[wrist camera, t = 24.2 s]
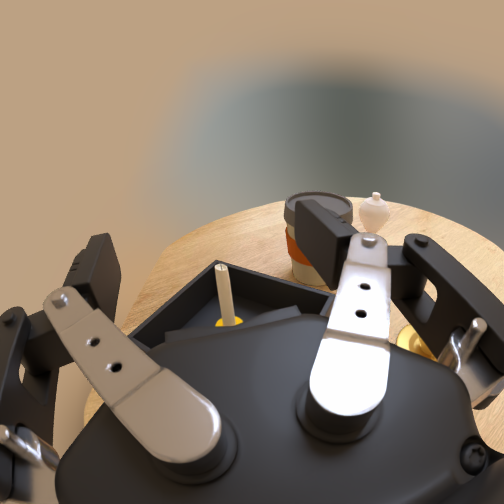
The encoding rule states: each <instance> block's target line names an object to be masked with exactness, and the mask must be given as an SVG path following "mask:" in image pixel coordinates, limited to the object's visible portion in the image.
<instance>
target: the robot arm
mask: <svg viewBox="0 0 504 504" xmlns="http://www.w3.org/2000/svg"><path fill="white" fill-rule="evenodd" d="M294 236H295V241H296V244H297V246H298V248H299V249H300V250H301V252H302V253H303V254H304V256H305V257H306V258H307V260H308V261H309V262H310V264H311V265H312V266H313V267H314V269H315V270H316V271H317V273H318V274H319V275H320V277H321V278H322V279H323V281H324V282H325V283H326V285H327V286H328V287H329V289H330V290H331V291H332V290H336V289H337V293H336V297H335V301H334V304H333V308H332V311H331V315H330V317H327V316H322V315H316V314H301V313H300V311H299V309H298V307H297V306H296V305H295V306H290V307H286V308H282V309H278V310H273V311H269V312H265V313H263V314H260V315H258V316H256V317H253V318H251V319H249V320H247V321H244V322H242V323H240V324H237V325H234V326H196V327H191V328H185V329H180V330H174V331H168V332H165V342H164V343H162V344H160V345H158V346H156V347H154V348H152V349H151V350H149V351H147V352H146V353H144V352H143V351H142V350H141V349H140V348H139V347H138V346H136V345H135V344H134V343H133V342H132V341H131V340H130V339H129V338H128V337H127V336H126V335H125V334H124V333H123V332H122V331H121V330H120V329H119V328H118V327H117V326H116V325H115V324H114V319H115V312H116V306H117V299H118V294H119V288H120V282H121V271H120V265H119V262H118V259H117V256H116V253H115V250H114V247H113V243H112V240H111V237H110V235H109V234H108V233H104V234H99V235H94V236H91V238H90V240H89V242H88V245H87V247H86V249H83V250H82V251H81V252H80V253H79V254H78V255H77V256H76V257H75V259H74V261H73V263H72V266H71V268H70V270H69V271H70V272H68V274H67V277H66V279H65V282H64V284H63V287H61V288H58V289H56V290H55V291H53V292H52V293H50V294H49V295H48V296H47V297H46V299H45V300H44V302H43V309H44V310H42V311H39V312H37V313H34V314H32V315H30V316H27V314H26V313H25V311H24V309H23V308H22V307H13V308H10V309H8V310H7V311H6V312H4V313H3V314H2V315H1V316H0V504H504V454H502V453H500V452H497V451H495V450H493V449H491V448H490V447H489V446H487V445H486V443H485V442H484V441H483V440H482V438H481V436H480V434H479V432H478V429H477V426H476V423H475V420H474V416H473V411H472V408H473V409H476V410H482V409H485V408H486V407H488V406H489V405H490V403H491V402H492V401H493V400H494V399H495V398H496V397H497V396H498V395H499V394H500V393H501V391H502V390H503V389H504V304H503V303H502V302H501V301H500V300H499V299H498V298H497V297H496V296H495V295H494V294H493V293H492V292H491V291H490V290H489V289H488V288H487V287H486V286H485V285H483V284H482V283H481V282H480V281H479V280H478V279H477V278H476V277H475V276H474V275H473V274H472V273H471V272H470V271H468V270H467V269H466V268H465V267H464V266H463V265H462V264H461V263H460V262H458V261H457V260H456V259H455V258H454V257H453V256H452V255H450V254H449V253H448V252H447V251H446V250H445V249H443V248H442V247H441V246H440V245H439V244H437V243H436V242H435V241H434V240H432V239H431V238H429V237H427V236H425V235H422V234H408V235H406V236H405V239H404V244H403V246H387V242H386V240H385V239H384V238H382V237H381V236H379V235H376V234H373V233H368V232H361V233H360V232H358V231H357V230H356V229H355V228H354V227H353V226H351V225H350V224H349V223H348V222H346V220H344V219H343V218H341V216H340V215H338V214H337V213H336V212H334V211H332V210H330V209H327V208H324V207H323V206H321V205H320V204H319V203H318V202H317V201H315V200H314V199H307V200H299V201H296V203H295V222H294ZM427 279H429V280H430V282H431V283H432V284H433V285H434V286H435V287H436V290H437V300H436V302H434V300H433V299H432V298H431V297H430V296H429V295H428V294H427V293H426V292H425V291H424V288H425V285H426V282H427ZM390 299H391V300H392V301H393V303H394V304H395V305H396V306H397V308H398V309H399V310H400V312H401V313H402V314H403V315H404V317H405V318H406V319H407V321H408V322H409V323H410V324H411V326H412V327H413V328H414V330H415V331H416V332H417V334H418V335H419V336H420V338H421V339H422V340H423V342H424V343H425V344H426V346H427V347H428V348H429V350H430V351H431V353H432V354H433V355H434V357H435V358H436V360H437V361H438V362H436V361H434V360H431V359H429V358H426V357H424V356H421V355H419V354H416V353H414V352H411V351H409V350H407V349H404V348H402V347H399V346H397V345H395V344H392V343H390V342H388V335H389V320H390ZM74 361H75V363H76V364H77V365H78V367H79V368H80V370H81V371H82V373H83V374H84V375H85V376H86V378H87V380H88V381H89V382H90V383H91V385H92V386H93V388H94V389H95V390H96V392H97V393H98V394H99V396H100V397H101V398H102V399H103V401H104V403H103V404H102V405H101V407H100V408H99V409H98V410H97V412H96V413H95V414H94V416H93V417H92V418H91V419H90V421H89V422H88V423H87V425H86V426H85V427H84V429H83V430H82V431H81V432H80V434H79V435H78V436H77V438H76V439H75V441H74V442H73V443H72V444H71V446H70V447H69V448H68V450H67V451H66V452H65V454H64V455H63V457H62V458H61V459H60V458H59V455H58V453H57V452H56V450H55V449H54V448H53V425H54V411H55V400H56V391H57V382H58V374H59V367H62V366H64V365H67V364H69V363H72V362H74ZM20 364H22V365H23V366H24V368H25V373H24V379H23V383H21V381H20V378H19V367H20Z"/></svg>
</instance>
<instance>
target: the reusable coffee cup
mask: <svg viewBox="0 0 504 504" xmlns="http://www.w3.org/2000/svg"><path fill="white" fill-rule="evenodd" d="M307 199H314V200H315V201H317V202H318V203H319V204H320V205H321V206H323V207H324V208H327V209H330V210H332V211H334V212H336V213H337V214H338V215H340V216H341V218H343V219H344V220H346V222H348V223H349V224H350V225H351V224H352V221H353V206H352V203H351V201H349V200H348V199H347V198H345V197H343V196H341V195H338V194H335V193H331V192H324V191H305V192H300V193H296V194H293V195H291V196H289V197H288V198H287V199H286V201H285V209H284V219H285V221H286V223H287V227H286V230H285V232H286V239H287V247H288V253H289V255H290V257H291V260H292V268H293V275H294V277H295V278H296V279H297V280H298V281H300V282H301V283H304V284H306V285H311V286H322V285H326V283H325V282H324V281H323V279H322V278H321V277H320V275H319V274H318V273H317V271H316V270H315V269H314V267H313V266H312V265H311V264H310V262H309V261H308V260H307V258H306V257H305V256H304V254H303V253H302V252H301V250H300V249H299V248H298V246H297V244H296V241H295V236H294V222H295V203H296V201H299V200H307Z"/></svg>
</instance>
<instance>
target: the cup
mask: <svg viewBox="0 0 504 504" xmlns="http://www.w3.org/2000/svg"><path fill="white" fill-rule="evenodd" d="M396 345H397V346H399V347H402V348H404V349H407V350H409V351H411V352H414V353H416V354H419V355H421V356H424V357H426V358H429V359H431V360H434V361H436V362H438V361H437V360H436V358H435V357H434V355H433V354H432V353H431V351H430V350H429V348H428V347H427V346H426V344H425V343H424V342H423V340H422V339H421V338H420V336H419V335H418V334H417V332H416V331H415V330H414V328H413V327H412V326H411V324H409V325H407V326H405V327H404V328H403V329H402V330H401V331H400V333H399V334H398V337H397V341H396Z"/></svg>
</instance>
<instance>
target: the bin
mask: <svg viewBox="0 0 504 504" xmlns="http://www.w3.org/2000/svg"><path fill="white" fill-rule="evenodd" d="M220 263H221V264H224V265H226V266H227V268H228V273H229V279H230V286H231V293H232V300H233V308H234V315H235V316H236V317H238V318H240V319H241V320H242V321H243V322H244V321H247V320H249V319H251V318H253V317H256V316H258V315H260V314H263V313H265V312H269V311H273V310H278V309H282V308H286V307H290V306H295V305H296V306H297V307H298V309H299V311H300V313H301V314H316V315H322V316H327V317H330V315H331V311H332V308H333V304H334V301H335V296H336V295H335V294H332V293H328V292H325V291H321V290H318V289H314V288H311V287H307V286H304V285H300V284H297V283H293V282H290V281H286V280H283V279H279V278H276V277H273V276H269V275H266V274H262V273H259V272H256V271H252V270H249V269H245V268H242V267H239V266H235V265H232V264H229V263H225V262H222V261H219V260H215V261H214V262H213V263H211V264H210V265H209V266H208V267H207V268H206V269H204V270H203V271H202V272H201V273H200V274H198V275H197V276H196V277H195V278H194V279H193V280H191V281H190V282H189V283H188V284H187V285H186V286H184V287H183V288H182V289H181V290H180V291H179V292H177V293H176V294H175V295H174V296H173V297H172V298H170V299H169V300H168V301H167V302H166V303H165V304H164V305H162V306H161V307H160V308H159V309H158V310H157V311H155V312H154V313H153V314H152V315H151V316H150V317H149V318H147V319H146V320H145V321H144V322H143V323H142V324H141V325H139V326H138V327H137V328H136V329H135V330H134V331H133V332H131V333H130V334H129V335H128V336H127V337H128V338H129V339H130V340H131V341H132V342H133V343H134V344H135V345H136V346H138V347H139V348H140V349H141V350H142V351H143V352H144V353H146V352H147V351H149V350H151V349H152V348H154V347H156V346H158V345H160V344H162V343H164V342H165V332H168V331H174V330H180V329H185V328H191V327H196V326H215V325H216V323H217V321H218V320H219V319H221V318H222V315H221V308H220V302H219V296H218V289H217V282H216V274H215V265H217V264H220Z"/></svg>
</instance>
